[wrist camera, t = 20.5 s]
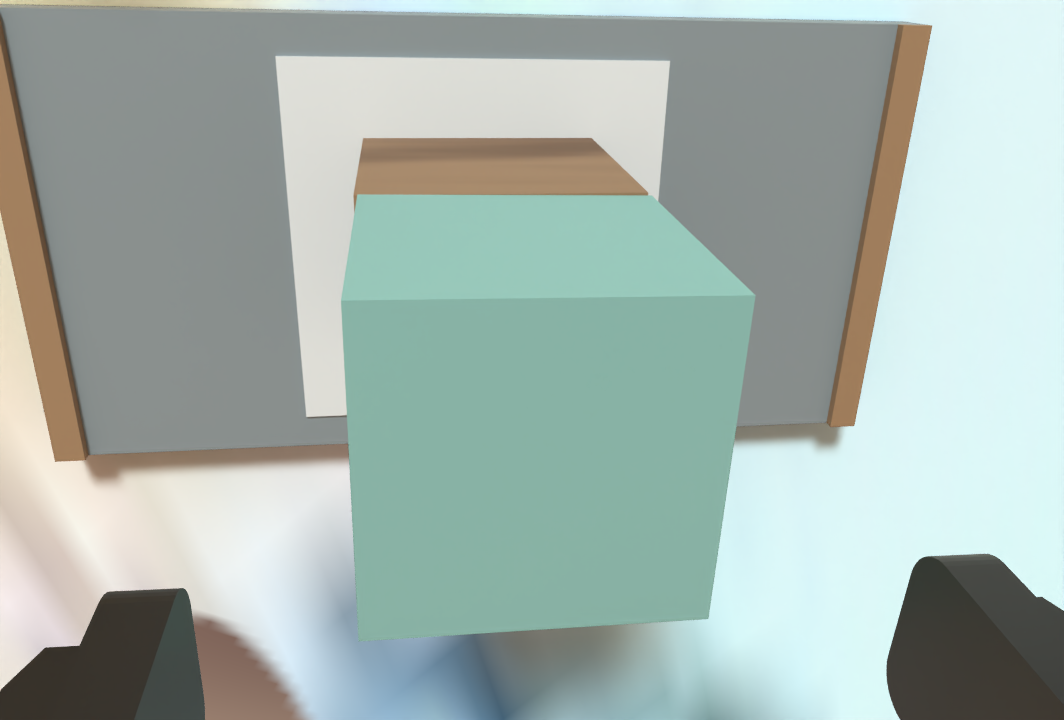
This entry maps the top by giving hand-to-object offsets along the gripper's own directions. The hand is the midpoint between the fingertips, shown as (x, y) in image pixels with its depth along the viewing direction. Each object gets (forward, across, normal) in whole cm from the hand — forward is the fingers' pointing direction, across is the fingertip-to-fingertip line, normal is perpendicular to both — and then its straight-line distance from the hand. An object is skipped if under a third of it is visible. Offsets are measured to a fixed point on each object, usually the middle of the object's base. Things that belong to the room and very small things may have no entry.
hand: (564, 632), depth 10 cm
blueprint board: (+18, 0, +1) cm, 18 cm away
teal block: (+10, 0, +1) cm, 10 cm away
